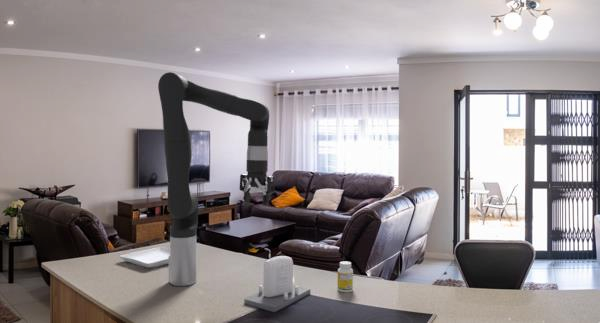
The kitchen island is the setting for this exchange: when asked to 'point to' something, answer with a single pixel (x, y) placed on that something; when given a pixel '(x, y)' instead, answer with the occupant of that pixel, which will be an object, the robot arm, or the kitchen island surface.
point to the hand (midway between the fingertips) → (256, 204)
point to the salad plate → (149, 257)
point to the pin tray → (276, 299)
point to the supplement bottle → (345, 277)
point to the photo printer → (278, 276)
